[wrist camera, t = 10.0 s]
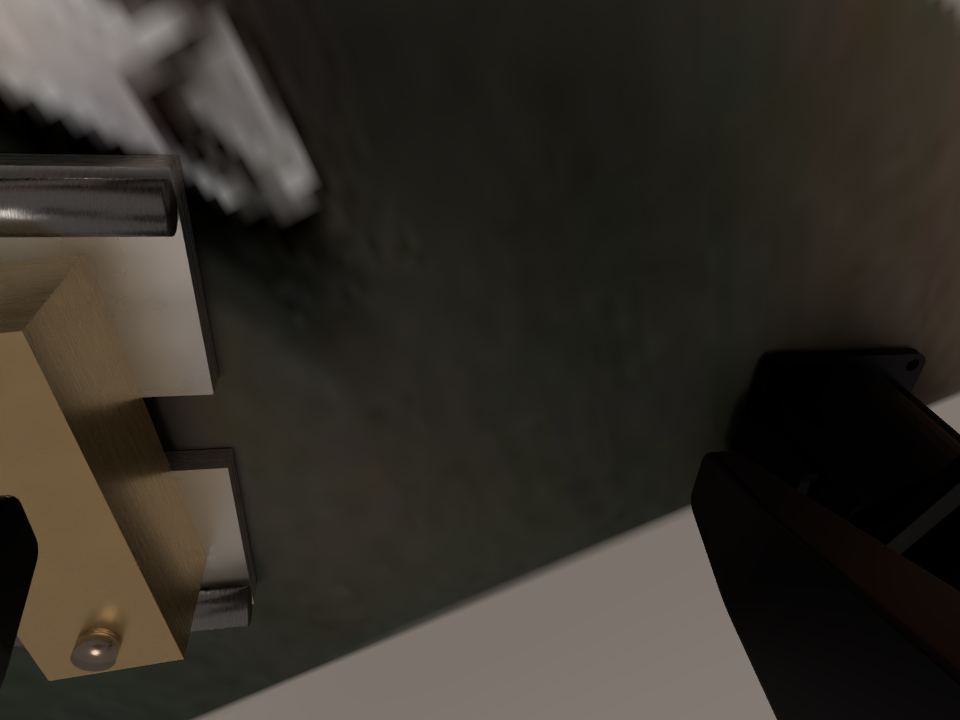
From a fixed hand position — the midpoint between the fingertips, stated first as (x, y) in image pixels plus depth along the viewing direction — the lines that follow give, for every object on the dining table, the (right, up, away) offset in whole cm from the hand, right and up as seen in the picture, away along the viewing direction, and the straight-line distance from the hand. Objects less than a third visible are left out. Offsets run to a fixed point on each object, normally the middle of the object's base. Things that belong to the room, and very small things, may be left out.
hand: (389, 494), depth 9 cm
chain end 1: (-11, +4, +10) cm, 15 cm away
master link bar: (-11, -1, +12) cm, 16 cm away
